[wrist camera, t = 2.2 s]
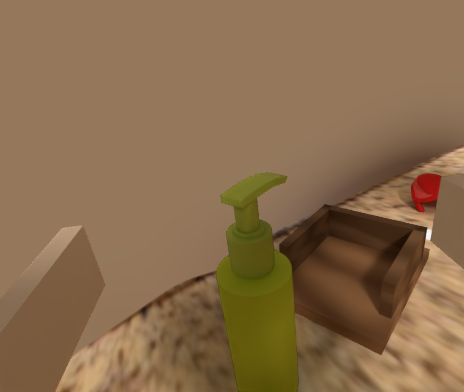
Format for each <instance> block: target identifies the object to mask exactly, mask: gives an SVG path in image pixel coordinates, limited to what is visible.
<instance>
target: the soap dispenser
mask: <svg viewBox="0 0 464 392" xmlns="http://www.w3.org/2000/svg"><path fill="white" fill-rule="evenodd" d="M286 179H287V176H284V175H278V174H273V173H259V174H256V175H253V176H250V177H248V178H246V179H244V180H242V181H241V182H239V183H237V184H236V185H234V186H233V187H231V188H230V189H228V190H227V191H226V192H224V193H223V194H221V202H222V203H225V204H228V205H231V206H234V213H235V220H236V223H234V224H232V225H231V226H230V227H229V228H228V229H227V231H226V238H227V244H228V250H229V255H228V256H227V257H226V258H224V259H223V260H222V261H221V263H220V264H219V266H218V268H217V271H216V278H217V283H218V288H219V294H220V299H221V304H222V309H223V315H224V320H225V325H226V330H227V336H228V341H229V346H230V352H231V357H232V362H233V367H234V373H235V378H236V383H237V388H238V391H239V392H297V389H298V382H299V380H298V363H297V346H296V329H295V312H294V295H293V278H292V266H291V263H290V261H289V260H288V258H287V257H286V256H285V255H283V254H282V253H280V252H278V251H276V250H274V247H273V235H272V228H271V226H270V225H269V224H268V223H267V222H265V221H263V220H259V213H258V205H257V204H258V203H257V197H259V196H260V195H262V194H263V193H265V192H266V191H267V190H269V189H271V188H272V187H274V186H276V185H279V184H282V183H285V182H286Z"/></svg>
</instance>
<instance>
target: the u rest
mask: <svg viewBox="0 0 464 392" xmlns="http://www.w3.org/2000/svg"><path fill="white" fill-rule="evenodd" d="M426 232H427V227H423V226H418V225H414V224H409V223H405V222H401V221H396V220H392V219H387V218H383V217H379V216H374V215H370V214H365V213H361V212H357V211H352V210H348V209H343V208H339V207H335V206H330V205H326V204H325V205H324V206H323V207H322V208H320V209H319V210H318V211H317V212H316V213H315V214H313V215H312V216H311V217H310V218H309V219H308V220H307V221H305V222H304V223H303V224H302V225H301V226H300V227H299V228H297V229H296V230H295V231H294V232H293V233H292V234H291V235H290V236H288V237H287V238H286V239H285V240H284V241H283V242H282V243H280V244H279V246H280V253H282V254H283V255H285V256H286V257H287V258H288V260H289V261H290V263H291V266H292V278H293V295H294V312H296V313H298V314H300V315H302V316H304V317H306V318H308V319H310V320H312V321H314V322H316V323H318V324H320V325H322V326H324V327H326V328H328V329H330V330H332V331H334V332H336V333H338V334H340V335H342V336H344V337H346V338H348V339H350V340H352V341H354V342H356V343H358V344H360V345H362V346H364V347H366V348H368V349H370V350H372V351H374V352H376V353H378V354H380V355H381V354H382V352H383V350H384V348H385V346H386V344H387V342H388V340H389V338H390V336H391V334H392V332H393V330H394V328H395V326H396V324H397V321H398V319H399V317H400V315H401V313H402V311H403V309H404V307H405V305H406V303H407V301H408V299H409V297H410V295H411V293H412V291H413V288H414V286H415V284H416V282H417V280H418V278H419V276H420V274H421V272H422V270H423V268H424V266H425V264H426V262H427V260H428V256H429V250H430V249H427V248H424V245H425V239H426Z"/></svg>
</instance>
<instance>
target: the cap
mask: <svg viewBox="0 0 464 392" xmlns="http://www.w3.org/2000/svg"><path fill="white" fill-rule="evenodd" d="M441 177H442V176H440V175H436V174H422V175H420V176H418V177H417V178H416V179H415V180H414V182H413V183H412V185H411V194H412V198H413V201H414V203H415V205H416V207H417V209H418V211H419V212H423V211H424V209H423V207H422V204H421V203H426V202H431V201H434V200H436V199H438V193H439V188H440V182H441Z"/></svg>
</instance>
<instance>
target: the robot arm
mask: <svg viewBox="0 0 464 392" xmlns="http://www.w3.org/2000/svg"><path fill="white" fill-rule="evenodd" d="M430 241H431V242H433V243H434V244H435V245H436V246H437V247H438V248H440V249H441V250H442V251H443V252H444V253H445V254H447V255H448V256H449V257H450V258H451V259H453V260H454V261H455V262H456V263H457V264H458V265H460V266H461V267H462V268H463V269H464V175H463V174H458V175H451V176H443V177H441V182H440V188H439V193H438V199H437V205H436V211H435V217H434V222H433V228H432V234H431V240H430ZM104 286H105V283H104V280H103V277H102V275H101V272H100V269H99V267H98V264H97V261H96V259H95V256H94V253H93V251H92V248H91V245H90V243H89V240H88V237H87V235H86V232H85V229H84V227H83V225H81V226H74V227H67V228H62V229H61V230H60V231H59V232H58V233H57V235H56V236H55V237H54V238H53V239H52V240H51V242H50V243H49V244H48V245H47V246H46V247H45V248H44V249H43V251H42V252H41V253H40V254H39V255H38V256H37V257H36V259H35V260H34V261H33V262H32V263H31V264H30V265H29V267H28V268H27V269H26V270H25V271H24V272H23V273H22V275H21V276H20V277H19V278H18V279H17V280H16V281H15V283H14V284H13V285H12V286H11V287H10V288H9V289H8V291H7V292H6V293H5V294H4V295H3V297H1V299H0V392H55V390H56V388H57V386H58V384H59V382H60V380H61V378H62V376H63V373H64V371H65V369H66V367H67V365H68V363H69V361H70V359H71V356H72V354H73V352H74V350H75V348H76V346H77V343H78V342H79V339H80V337H81V335H82V333H83V331H84V329H85V327H86V325H87V322H88V320H89V318H90V316H91V314H92V312H93V310H94V308H95V305H96V303H97V301H98V299H99V297H100V295H101V293H102V291H103V288H104Z"/></svg>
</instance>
